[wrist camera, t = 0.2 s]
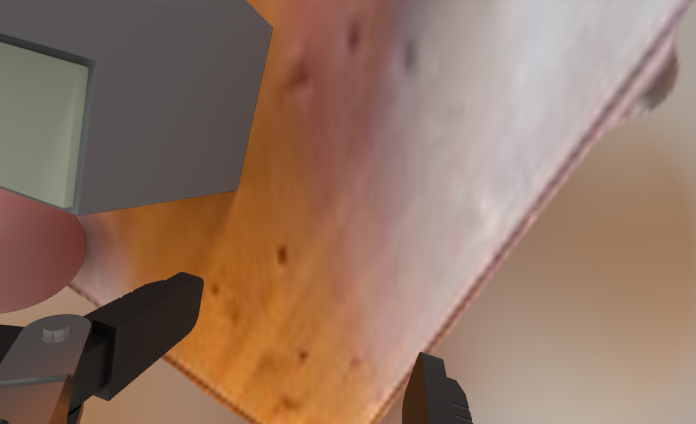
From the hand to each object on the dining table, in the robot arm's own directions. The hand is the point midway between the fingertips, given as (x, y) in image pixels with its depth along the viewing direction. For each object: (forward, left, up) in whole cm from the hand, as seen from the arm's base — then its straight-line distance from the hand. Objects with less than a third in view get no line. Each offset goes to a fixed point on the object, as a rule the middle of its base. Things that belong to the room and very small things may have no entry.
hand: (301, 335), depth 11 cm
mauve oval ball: (+16, -44, -29) cm, 55 cm away
